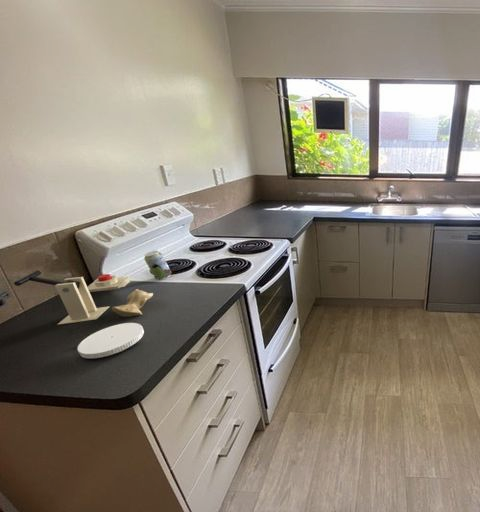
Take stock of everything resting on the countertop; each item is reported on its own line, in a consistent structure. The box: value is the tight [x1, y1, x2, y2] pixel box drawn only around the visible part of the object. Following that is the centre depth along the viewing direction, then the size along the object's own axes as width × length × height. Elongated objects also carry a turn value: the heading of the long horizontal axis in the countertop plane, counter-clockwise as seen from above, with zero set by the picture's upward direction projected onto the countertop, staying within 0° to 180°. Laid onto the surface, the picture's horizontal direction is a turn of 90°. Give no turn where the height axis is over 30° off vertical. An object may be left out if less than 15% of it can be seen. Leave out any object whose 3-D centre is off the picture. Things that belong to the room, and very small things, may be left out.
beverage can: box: [143, 250, 173, 281], centre depth 121 cm, size 6×7×12 cm
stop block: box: [87, 274, 131, 293], centre depth 114 cm, size 11×9×4 cm
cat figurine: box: [111, 288, 154, 318], centre depth 98 cm, size 8×7×12 cm
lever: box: [13, 270, 80, 289], centre depth 89 cm, size 12×8×2 cm, turn 108°
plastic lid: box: [77, 322, 145, 359], centre depth 83 cm, size 14×14×2 cm
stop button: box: [97, 273, 112, 282], centre depth 113 cm, size 4×4×2 cm
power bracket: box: [54, 276, 110, 326], centre depth 93 cm, size 10×8×14 cm
